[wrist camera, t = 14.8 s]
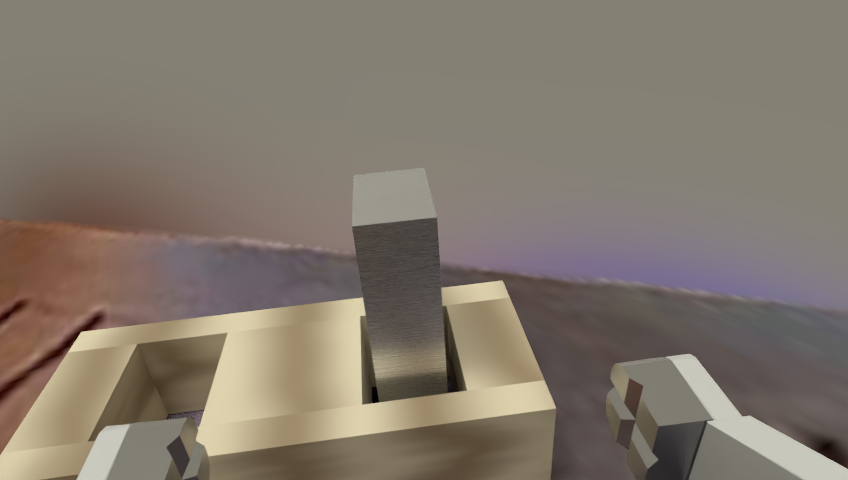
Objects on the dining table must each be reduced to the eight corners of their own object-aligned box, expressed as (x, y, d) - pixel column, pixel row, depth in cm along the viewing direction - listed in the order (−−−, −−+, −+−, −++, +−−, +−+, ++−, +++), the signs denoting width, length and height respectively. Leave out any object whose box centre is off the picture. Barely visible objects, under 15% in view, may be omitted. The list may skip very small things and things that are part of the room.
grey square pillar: (389, 466, 26) (352, 226, 19) (385, 395, 30) (353, 175, 23) (452, 458, 26) (437, 217, 19) (440, 388, 30) (424, 167, 23)
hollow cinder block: (36, 563, 23) (-22, 488, 20) (115, 400, 31) (81, 331, 28) (549, 487, 24) (556, 408, 22) (502, 350, 32) (502, 280, 29)
